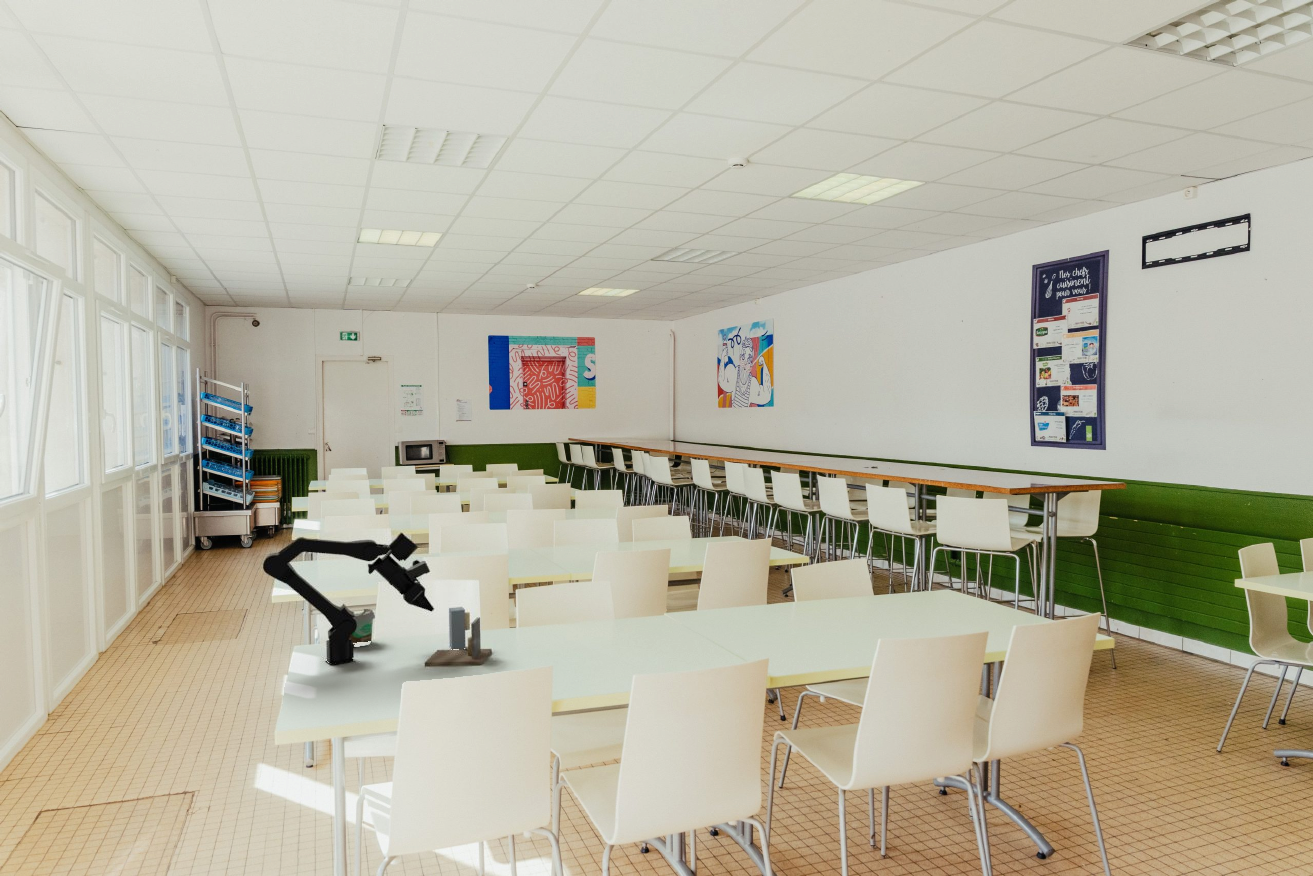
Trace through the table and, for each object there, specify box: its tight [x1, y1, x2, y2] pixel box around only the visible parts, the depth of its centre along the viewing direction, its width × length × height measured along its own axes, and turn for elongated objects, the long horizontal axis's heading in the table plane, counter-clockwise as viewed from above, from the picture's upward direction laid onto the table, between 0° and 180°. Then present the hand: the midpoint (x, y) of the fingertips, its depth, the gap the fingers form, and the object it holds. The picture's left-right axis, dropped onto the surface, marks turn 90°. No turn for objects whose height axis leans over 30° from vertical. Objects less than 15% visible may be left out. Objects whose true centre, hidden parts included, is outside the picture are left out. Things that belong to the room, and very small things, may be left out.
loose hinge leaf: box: [448, 606, 471, 650], centre depth 249 cm, size 6×5×12 cm
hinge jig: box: [424, 617, 492, 667], centre depth 237 cm, size 16×14×11 cm
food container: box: [350, 608, 376, 645], centre depth 256 cm, size 12×6×10 cm, turn 168°
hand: (431, 607), depth 246 cm, fingers open, 9 cm apart
